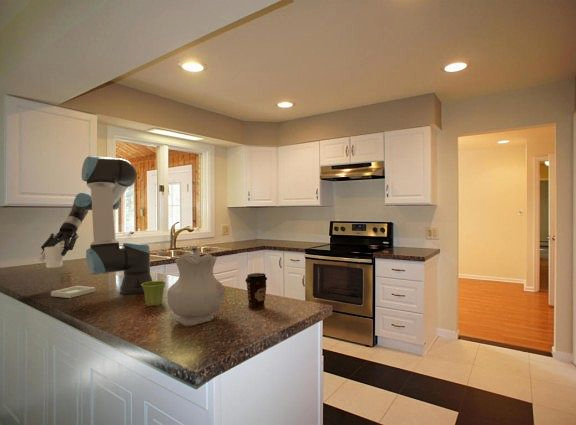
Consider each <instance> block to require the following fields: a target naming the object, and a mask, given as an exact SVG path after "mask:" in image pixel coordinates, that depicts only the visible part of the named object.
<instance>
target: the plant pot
mask: <svg viewBox="0 0 576 425" xmlns="http://www.w3.org/2000/svg"><path fill="white" fill-rule="evenodd" d="M166 284H167V282H166V281H163V280H156V281H155V280H154V281H153V280H152V281H151V282H146V283H143V284H141V286H142V287H143V290H144V293H143V294H144V300H145V301H144V302H145V306H146V307H152V306H155V307H158V306H160V305H162V303H163V299H164V298H163V297H164V290H165V286H166Z"/></svg>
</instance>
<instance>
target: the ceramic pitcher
mask: <svg viewBox="0 0 576 425" xmlns="http://www.w3.org/2000/svg"><path fill="white" fill-rule="evenodd" d="M191 250H192V255H191V254H190V253H184V254H181V255H179V258H175V260H174V262H175V264H176V267H177V268H178V272H179V273H178V274H179V277H178V279H177V280H176V281H175V282H174V283H172V285H171V286H170V287H169V288H168V290H167V292H166V293H167V295H166V296H167V297H166V299H167V304H168V307H169V309H170V310H171V311H172V313H173V314H174V315H176V316H177V317H180V318H179V319H178V321H179V324H181V325H182V326H185V327H192V326H196V325H199V324H202V323H206V322H207V323H208V322H211V321H213V320H214V318H215V317H214V315H213V313H216V312H217V311H218V310H219V309H220V308H221V306H222V304H223V302H224V300H225V296H226V295H225V294H226V292H225V290H226V288H225V286H224V284H222V282H221V281H219V280H218V279H216V278H215V275H214V267H215V264H216V263H217V262H216V261H217V256H216V255H215V256H213V255H212V254H210V253H206V254H205V255H203V256H201V255H200V254H201V253H200V250H199V248H198V247H196V246H192V248H191Z"/></svg>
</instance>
